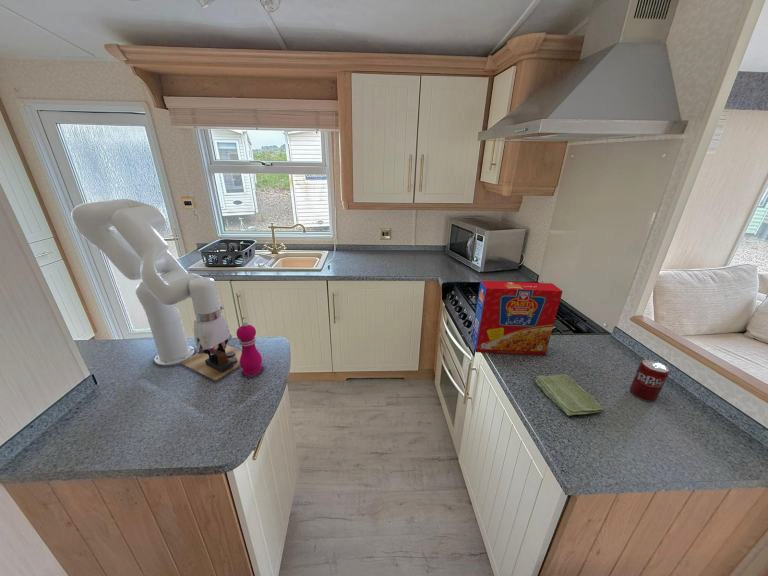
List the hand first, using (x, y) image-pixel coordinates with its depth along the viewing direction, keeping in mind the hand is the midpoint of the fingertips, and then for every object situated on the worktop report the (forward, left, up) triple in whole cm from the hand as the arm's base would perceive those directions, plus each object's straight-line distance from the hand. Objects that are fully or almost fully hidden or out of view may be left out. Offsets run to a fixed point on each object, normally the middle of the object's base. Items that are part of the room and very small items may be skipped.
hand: (218, 360), depth 109 cm
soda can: (+134, +59, -3) cm, 146 cm away
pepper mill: (+12, +4, -3) cm, 13 cm away
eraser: (0, 0, -2) cm, 2 cm away
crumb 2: (+2, +4, -2) cm, 5 cm away
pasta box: (+90, +66, -3) cm, 112 cm away
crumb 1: (-2, +6, -2) cm, 7 cm away
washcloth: (+111, +45, -3) cm, 120 cm away
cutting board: (-4, +2, -3) cm, 6 cm away
